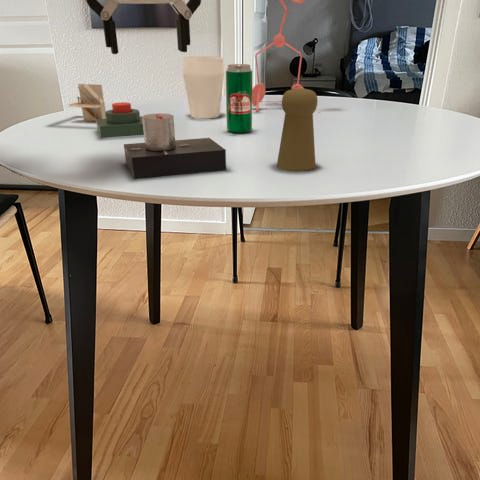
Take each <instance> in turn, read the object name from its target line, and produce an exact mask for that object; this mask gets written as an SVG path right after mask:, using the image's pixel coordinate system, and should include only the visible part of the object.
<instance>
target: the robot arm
mask: <svg viewBox="0 0 480 480" xmlns="http://www.w3.org/2000/svg"><path fill="white" fill-rule="evenodd" d="M84 1H85V3H86V5H87V6H88V8H90V9H91V10H92V11H93V12H94V13H95V14H96V15H97V16H98V17H99V18H100V19H101V20H102V26H103V33H104V34H103V35H104V41H105V42H104V43H105V47H106V48H110V50H111V54H112V55H118V54H119V45H118V38H117V37H118V36H117V28H116V21H115V20H114V19H113V13H114V12H115V10H116V9H117V7H118V5H119V4H121V5H122V4H123V5H128V4H129V5H139V4H140V5H144V4H145V5H147V4H148V5H149V4H150V5H152V4H153V5H154V4H155V5H156V4H157V5H158V4H169V5H170V6H171V7H172V8H173V10H174V11H175V12H176V14H177V19H176V21H175V23H176V24H175V25H176V38H177V41H176V42H177V50H178V51H179V52H181V53H187V52H188V46H190V45H191V29H190V28H191V27H190V19H191V18H192V16H193V15H194V13H195V12H196V11H197V10H198V8H199V7H200V6H201V4H202V0H188V1H187V3H185V1H184V0H106V1H105V3H104V4H103V5H102V4H101V3H100V2H99V1H98V0H84Z"/></svg>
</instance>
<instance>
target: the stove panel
mask: <svg viewBox="0 0 480 480" xmlns="http://www.w3.org/2000/svg"><path fill="white" fill-rule="evenodd" d="M175 144H176V147H175V148H174V149H172V150H167V151H150V150H147V149H145V142H136V143H135V142H134V143H124V144H123V151H124V160H125V164H126V166H127V168H128V170H129V172H130V174H131V175H132V177H133V179H144V178H145V179H146V178H155V177H157V178H158V177H165V176H177V175H188V174H198V173H208V172H219V171H227V150H226V148H224V147H223V146H221V145H220V144H218V143H217V142H216V141H214V139H212V138H211V137H202V138H188V139H175Z"/></svg>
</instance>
